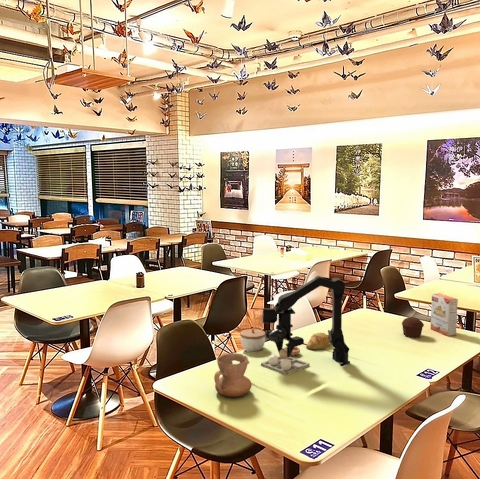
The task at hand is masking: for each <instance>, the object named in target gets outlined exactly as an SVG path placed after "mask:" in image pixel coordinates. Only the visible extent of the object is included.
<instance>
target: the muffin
mask: <svg viewBox="0 0 480 479" xmlns="http://www.w3.org/2000/svg"><path fill="white" fill-rule="evenodd" d="M401 325H402V332H403V336H404V335H405V336H404V337H406V338H409V339H419V338H421V336H422V332H423V327H425V325H424V322H423V321H422V320H420V319H419V318H417V317H414V316H409V317H406V318H404V319H403V320H402V322H401Z"/></svg>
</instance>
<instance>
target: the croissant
mask: <svg viewBox="0 0 480 479" xmlns="http://www.w3.org/2000/svg"><path fill="white" fill-rule="evenodd" d="M330 344H331V343H330V341H329V339H328V334H326V333H325V332H317V333H313V334H312V335H311V336H310V338H309V341H308V342H307V344H306V346H305V349H307V350H321V349H325V348H327V347H328V346H329V345H330Z"/></svg>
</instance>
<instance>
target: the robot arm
mask: <svg viewBox="0 0 480 479" xmlns="http://www.w3.org/2000/svg"><path fill="white" fill-rule="evenodd" d="M320 287H324V288H327V289H330V294H331V297H332V298H331V300H332V302H331V305H332V306H331V308H332V309H331V314H332V315H331V322H332V324H331V325H332V326H331V329H328V330H327V335H328V339H329V341H330V343H329V344H331V346H332V347H333V349H332V350H333V351H332V360H333V361H334V362H336V363H340V364H339V366H341V367H344V366H345V365H348V364H350V363H351V361H350V360H349V351H350V348H349V346H348V345H347V344H346V341H345V338H344V334H343V329H342V327H343V326H342V324H343V323H342V321H343V320H342V317H343V316H342V315H343V313H342V310H343V297H344V294H345V290H346V284H345V282H344V281H343V280H342V279H341V278H339V277H333V278H331V277H323V276H321V275H316V276H315V277H314V278H313V279H311V280H310V281H308V282H306V283H304V284H303V285H301V286H299V287H298V288H296V289H294V290H292V291H290V292H286V293H284V294H281V295H280V296H279V297H278V299H277V302H276V304H275V305H274V306H273V308H267V307H263V308H262V314H261V319H262V320H261V322H262V324H275V323H276V322H278V324H276V326H275V329H271V330H268V331H266V332H265V338H268V339H269V341H270V342H273V343H275V347H276V348H277V352H278V353H279V352H280V350H281V349H283V346H284V341H287V343H285V347H287V357H291V353H292V351H293V349H294V347H299V346H303V345H304V344H305V341H304V340H305V338H304V337H300V336H297V335H296V336H294V337H292V336H293V333H292V328H294V327H293V326H294V325H293V324H292V315H295V314H296V311H295V310H294V309H293V308H292V307H293V306H294V305H295V304H296V303H297V302H298V301H299V300H300V299H302V298H303V297H304V296H306V295H308V294H310V293H312V292H313V291H314V290H316V289H318V288H320Z"/></svg>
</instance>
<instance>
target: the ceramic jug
mask: <svg viewBox="0 0 480 479" xmlns="http://www.w3.org/2000/svg"><path fill="white" fill-rule="evenodd" d="M233 361H234V362H235V361H236V362H238V363H233ZM216 362H217V367H218V370H217V371H215V373H214V376H213V378H214V379H213V380H214V387H215V391H216V392H217V393H218V394H219V395H221V396H224V397H228V398H239V397H243V396H245V395H247V394H248V393H249V392H250V391H251V389H252V381H251V380H250V378H249V377H247V376H246V375H245V373H246V372H247V371H246V370H247V368H248V364H250V361H249V357H248V356H247V355H244V354H242V353H239V352H237V353H236V352H233V353H231V352H230V353H226V354H222V355H221V356H219V357H217V359H216Z"/></svg>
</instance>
